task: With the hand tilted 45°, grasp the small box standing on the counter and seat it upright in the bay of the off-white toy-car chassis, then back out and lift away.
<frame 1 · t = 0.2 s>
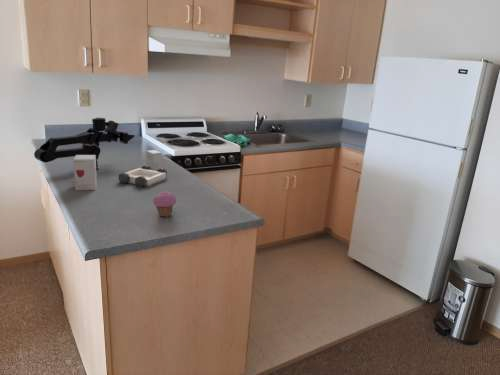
hand: (129, 134, 233), 17 cm above the worktop, tool horizontal, fingers open, 9 cm apart
chassis: (143, 180, 206), on the worktop
supplement box: (86, 187, 190), on the worktop
cupcake: (164, 215, 163), on the worktop
small box: (154, 170, 226), on the worktop
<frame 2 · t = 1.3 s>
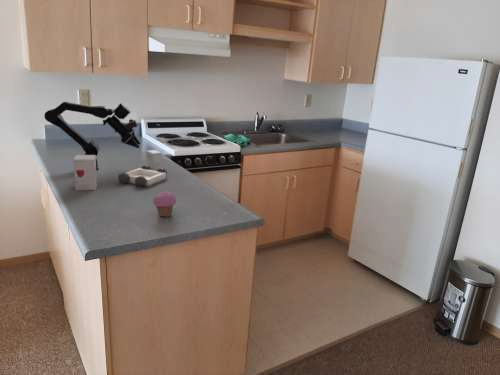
hand: (139, 145, 220), 14 cm above the worktop, tool tilted 45°, fingers open, 9 cm apart
nothing on the worktop moved.
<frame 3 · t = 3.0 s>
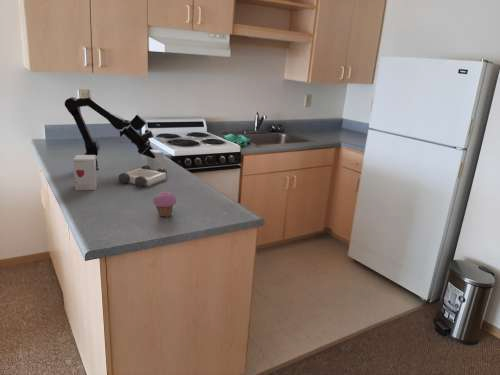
hand: (155, 155, 224), 8 cm above the worktop, tool tilted 45°, fingers open, 9 cm apart
small box: (154, 169, 226), on the worktop, touching gripper
everything else where it was.
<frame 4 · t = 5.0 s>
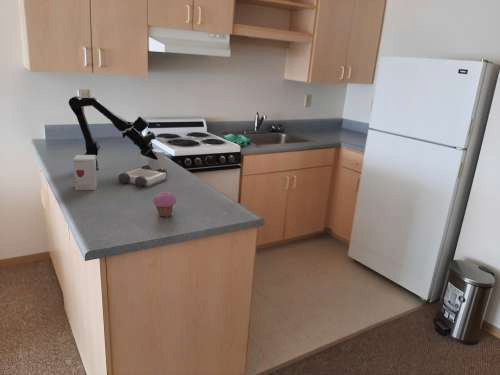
hand: (157, 157, 225), 7 cm above the worktop, tool tilted 45°, fingers closed on small box, 9 cm apart
small box: (155, 169, 226), on the worktop, touching gripper
everything else where it was.
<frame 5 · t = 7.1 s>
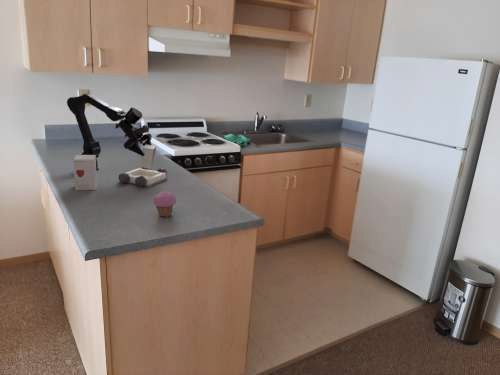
hand: (148, 153, 205), 13 cm above the worktop, tool tilted 45°, fingers closed on small box, 9 cm apart
small box: (146, 166, 208), point 6 cm above the worktop, touching gripper
everything else where it was.
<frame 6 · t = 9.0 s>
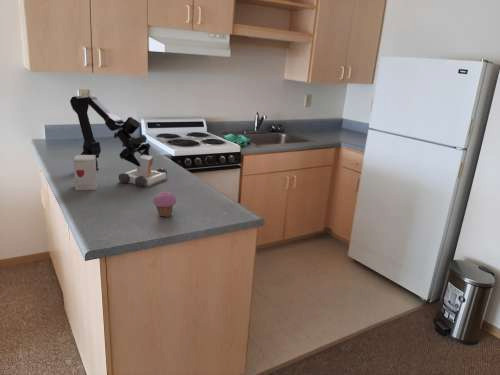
hand: (145, 164, 203), 9 cm above the worktop, tool tilted 45°, fingers closed on small box, 9 cm apart
small box: (143, 176, 206), point 2 cm above the worktop, touching gripper
everything else where it was.
when the fingers open (8 cm above the worktop, at t = 10.6 s): small box moves 1 cm, resting on chassis.
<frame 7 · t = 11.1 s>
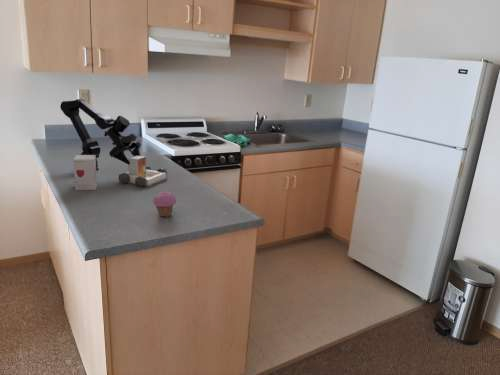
hand: (135, 162, 205), 9 cm above the worktop, tool tilted 45°, fingers open, 9 cm apart
small box: (137, 177, 207), point 1 cm above the worktop, touching chassis, gripper
everything else where it was.
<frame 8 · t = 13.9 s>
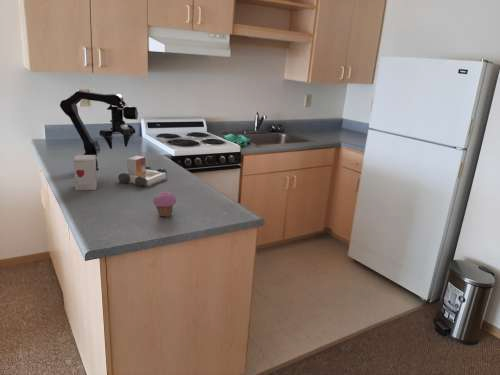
hand: (118, 147, 216), 13 cm above the worktop, tool pointing down, fingers open, 9 cm apart
small box: (136, 177, 207), point 1 cm above the worktop, touching chassis
everything else where it was.
at the end: small box inside the target area on the chassis (3.8 cm from its centre), point 0.8 cm above the chassis's base; small box tilted 0°; the gripper is holding nothing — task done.
